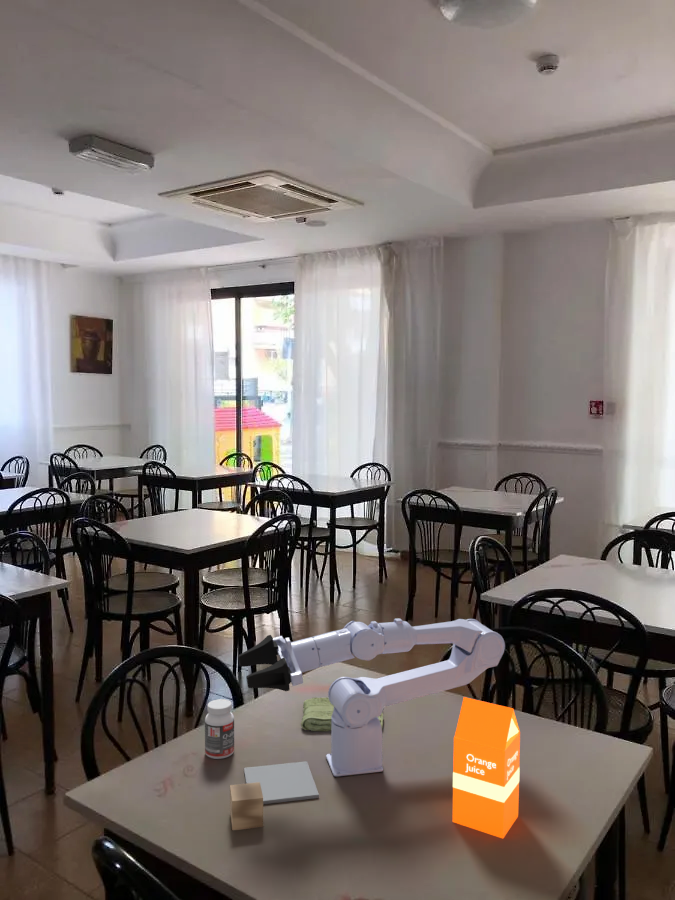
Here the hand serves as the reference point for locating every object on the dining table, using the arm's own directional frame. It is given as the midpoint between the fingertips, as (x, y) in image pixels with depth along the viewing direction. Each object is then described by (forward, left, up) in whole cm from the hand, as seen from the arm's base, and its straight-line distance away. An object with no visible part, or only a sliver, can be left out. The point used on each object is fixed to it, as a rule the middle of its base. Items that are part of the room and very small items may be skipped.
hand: (242, 671), depth 133 cm
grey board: (-6, +2, -21) cm, 22 cm away
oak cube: (+1, +12, -21) cm, 24 cm away
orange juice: (-38, +20, -21) cm, 48 cm away
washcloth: (-23, -22, -21) cm, 38 cm away
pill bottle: (+4, -12, -21) cm, 24 cm away
